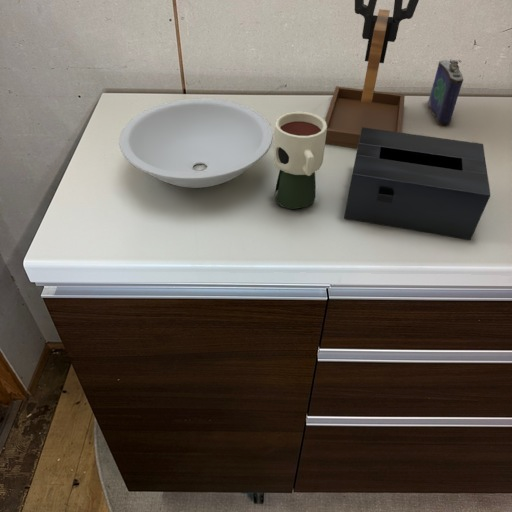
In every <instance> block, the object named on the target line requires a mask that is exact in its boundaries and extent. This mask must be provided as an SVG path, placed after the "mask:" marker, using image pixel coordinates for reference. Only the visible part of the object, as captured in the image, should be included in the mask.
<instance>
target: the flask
mask: <svg viewBox="0 0 512 512" xmlns="http://www.w3.org/2000/svg"><path fill="white" fill-rule="evenodd" d="M459 63H462V60H461V59H458V60H457V59H449V60H447V59H444V60H439V61H438V64H437V65H438V66H437V69H436V73H435V76H434V80H433V82H432V83H433V84H432V87H431V90H430V94H429V97H428V100H427V108H428V109H429V111H430V113H431V114H432V116H434V118H435V120H436V123H437V124H438V125H440V126H442V127H449V126H450V125H451V122H452V118H453V114H454V111H455V107H456V104H457V101H458V98H459V95H460V91H461V88H462V86H463V82H464V77H463V73H462V71H461V70H460V66H459V65H458V64H459Z"/></svg>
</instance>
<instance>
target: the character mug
mask: <svg viewBox="0 0 512 512" xmlns="http://www.w3.org/2000/svg"><path fill="white" fill-rule="evenodd" d="M326 132H327V125H326V121H325V118H323V117H322V116H320V115H317V114H315V113H311V112H307V111H292V112H287V113H284V114H282V115H281V116H279V117H277V119H276V120H275V124H274V137H273V138H274V140H273V141H274V142H273V143H274V145H273V163H274V166H275V168H277V169H278V170H279V171H278V176H277V180H276V186H275V188H274V189H275V190H274V197H276V203H277V204H279V205H280V206H281V207H283V208H287V209H290V210H294V209H301V208H302V209H303V208H305V207H308V206H310V205H311V204H313V203H314V202H315V199H316V192H317V191H316V186H317V185H316V172H317V171H318V170H320V169H321V167H322V165H323V162H324V154H325V147H326V144H325V140H326Z"/></svg>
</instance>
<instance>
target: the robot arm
mask: <svg viewBox="0 0 512 512" xmlns="http://www.w3.org/2000/svg"><path fill="white" fill-rule="evenodd" d="M377 1H378V0H368V3H367V4H365V0H354V13H355V14H356V15H360V16H361V17H363V20H364V21H363V28H362V33H361V38H362V40H367V44H366V49H365V57H364V62H367V63H368V60H369V54H370V49H371V43H372V38H373V32H374V28H375V24H376V21H377V17H378V15H375V14H374V13H375V9H376V6H377ZM419 2H420V0H408V3H407V5H406V7H404V8H403V3H404V0H394V2H393V11H392V16H389V17H388V21H387V27H386V32H385V37H384V42H383V47H382V53H381V58H380V63H379V64H384V63H385V58H386V54H387V49H388V44H389V42H391V43H395V41H396V40H397V36H398V31H399V27H400V24H401V22H402V21H403V20H406V19H407V20H411V19H412V18H413V17H414V14H415V12H416V9H417V6H418V3H419Z"/></svg>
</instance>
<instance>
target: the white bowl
mask: <svg viewBox="0 0 512 512" xmlns="http://www.w3.org/2000/svg"><path fill="white" fill-rule="evenodd" d="M273 136H274V134H273V129H272V127H271V125H270V123H269V121H268V119H266V118H265V117H264V115H262V113H259V112H258V111H256V110H255V109H253V108H251V107H249V106H246V105H244V104H241V103H238V102H235V101H231V100H225V99H220V98H219V99H218V98H208V97H207V98H205V97H202V98H185V99H178V100H172V101H168V102H163V103H161V104H157V105H155V106H152V107H149V108H148V109H145V110H144V111H142V112H140V113H138V114H136V115H134V117H133V118H131V119H130V120H129V121H128V122H127V123H126V124H125V125H124V127H123V128H122V130H121V133H120V135H119V142H118V144H119V149H120V152H121V154H122V156H123V157H124V158H125V160H126V161H127V162H128V163H129V164H130V165H132V166H133V167H135V168H136V169H138V170H139V171H142V172H144V173H146V174H148V175H151V176H152V177H154V178H155V179H158V180H159V181H161V182H162V183H163V182H164V183H166V184H170V185H172V186H176V187H181V188H193V189H197V188H198V189H199V188H209V187H214V186H218V185H222V184H224V183H227V182H229V181H231V180H234V179H236V178H237V177H238V176H240V175H242V174H243V173H244V172H245V171H247V170H248V169H249V168H250V167H252V166H253V165H255V164H257V162H259V161H260V160H262V159H263V157H264V156H265V155H266V154H267V153H268V151H269V150H270V148H271V146H272V143H273V138H274V137H273ZM196 165H205V166H206V168H205V169H203V170H196V169H194V166H196Z"/></svg>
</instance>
